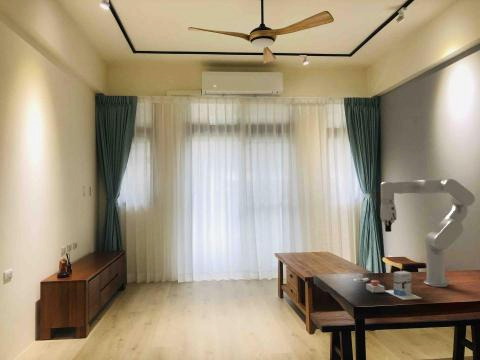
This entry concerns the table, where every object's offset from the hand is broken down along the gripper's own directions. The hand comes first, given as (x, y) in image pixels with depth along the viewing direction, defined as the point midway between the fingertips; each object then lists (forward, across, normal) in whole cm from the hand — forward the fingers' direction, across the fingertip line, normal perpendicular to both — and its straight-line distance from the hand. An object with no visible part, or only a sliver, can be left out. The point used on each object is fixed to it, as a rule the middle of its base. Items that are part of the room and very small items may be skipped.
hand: (388, 231), depth 218 cm
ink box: (+31, -24, +9) cm, 40 cm away
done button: (+31, -13, +19) cm, 38 cm away
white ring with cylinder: (+32, +6, +14) cm, 35 cm away
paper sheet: (+31, -24, +9) cm, 40 cm away
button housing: (+31, -13, +19) cm, 39 cm away
